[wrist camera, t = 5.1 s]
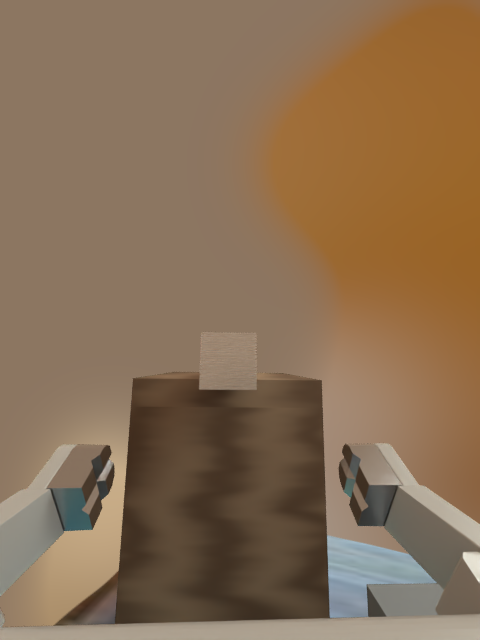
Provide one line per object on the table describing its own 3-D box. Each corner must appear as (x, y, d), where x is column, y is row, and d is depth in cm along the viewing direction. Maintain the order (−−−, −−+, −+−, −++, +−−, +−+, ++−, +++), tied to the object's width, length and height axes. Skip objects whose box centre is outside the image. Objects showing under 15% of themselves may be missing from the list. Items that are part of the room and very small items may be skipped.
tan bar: (239, 373, 32) (240, 351, 32) (256, 390, 12) (256, 333, 13) (217, 373, 32) (218, 351, 32) (199, 389, 12) (201, 332, 13)
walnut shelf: (285, 604, 31) (282, 373, 35) (336, 822, 16) (321, 380, 20) (162, 606, 31) (174, 371, 35) (99, 834, 16) (133, 378, 20)
